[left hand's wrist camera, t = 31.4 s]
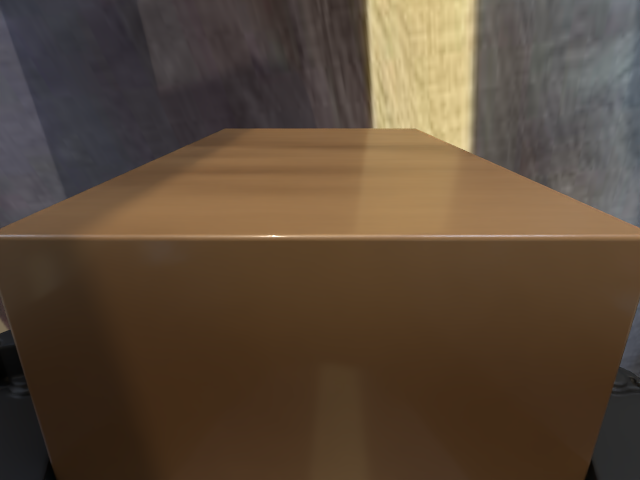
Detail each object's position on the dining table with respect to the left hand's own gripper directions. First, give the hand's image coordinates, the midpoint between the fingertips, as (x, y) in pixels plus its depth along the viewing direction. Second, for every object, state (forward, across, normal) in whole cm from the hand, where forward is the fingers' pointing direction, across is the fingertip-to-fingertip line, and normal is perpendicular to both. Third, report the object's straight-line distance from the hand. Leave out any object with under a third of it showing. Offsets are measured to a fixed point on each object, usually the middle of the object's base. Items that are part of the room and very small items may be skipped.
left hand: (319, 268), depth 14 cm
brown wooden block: (+3, 0, 0) cm, 3 cm away
